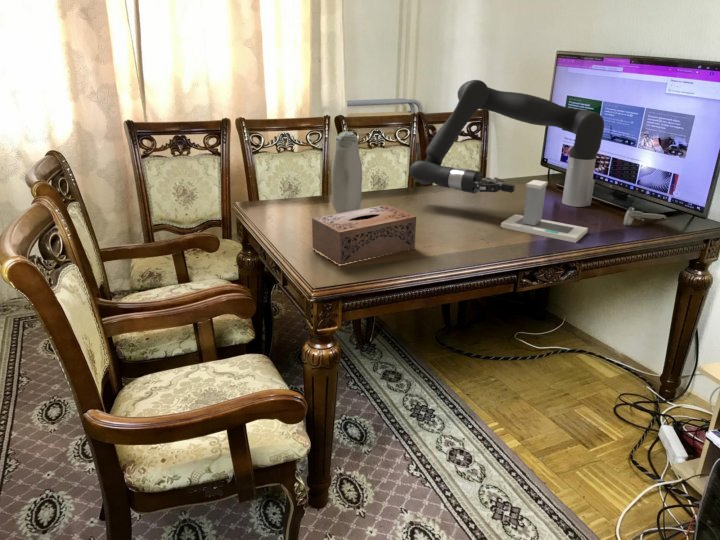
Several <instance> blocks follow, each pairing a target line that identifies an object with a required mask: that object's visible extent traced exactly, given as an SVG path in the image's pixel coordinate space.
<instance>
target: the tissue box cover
mask: <svg viewBox="0 0 720 540" xmlns="http://www.w3.org/2000/svg"><path fill="white" fill-rule="evenodd" d="M416 227H417V216H416V215H413V214H411V213H408V212H406V211H403V210H401V209H399V208H396V207H393V206H392V205H388V204H383V205H378V206H371V207H366V208H365V207H364V208H361V209H360V208H359V210H354V211H348V212H343V213H333V214H328V215H327V214H326V215H322V216H317V217H312V218H311V228H312V229H311V231H312V249H313V248H314V249H316V250H317V251H319V252H321V253H322V254H324V255H325V256H327V257H328V258H330V259H331V260H333V261H335V262H336V263H338V264H345V263H349V262H354V261H359V260H364V259H368V258H373V257H378V256H382V255H386V254H391V253H395V254H397V253H396V252H399V253H401V252H400V251H404V250H408V249H412V250H414V249H413V248H415V249H416ZM408 251H409V250H408ZM404 252H405V251H404ZM391 255H392V254H391Z"/></svg>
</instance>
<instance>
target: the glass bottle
mask: <svg viewBox="0 0 720 540" xmlns="http://www.w3.org/2000/svg"><path fill="white" fill-rule="evenodd" d="M334 144H335V145H334V153H333V158H332V163H331V169H330V170H331V171H330V174H331V175H330V177H331V179H330V180H331V204H332V207H333V209H334V211H335V212H336V214H338V213H343V212H348V211H354V210H359V209H360V207H361V204H362V188H363V187H362V186H363V184H362V183H363V168H362V167H363V166H362V160H361V156H360V155H361V154H360V148H359V138H358V137H357V135H356V133H354V132H352V131H349V130H348V131H347V130H346V131H341V132H340V133H339V134H337V136H336V139H335V143H334Z"/></svg>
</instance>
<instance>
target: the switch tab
mask: <svg viewBox="0 0 720 540" xmlns="http://www.w3.org/2000/svg"><path fill="white" fill-rule="evenodd" d="M547 185H548V181H545V180H538V179H533V180H531V181H529V182H527V183H526V193H525V201H524V202H525V203H524V210H523V215H522V216H523V224H528V225H534V226H535V225H537V224H538V223H539V222H541V220H542V217H543V211H544V203H545V197H546V189H547Z"/></svg>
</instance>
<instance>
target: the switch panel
mask: <svg viewBox="0 0 720 540" xmlns="http://www.w3.org/2000/svg"><path fill="white" fill-rule="evenodd" d="M523 216H524V215H521V214H516V213H515V214H513V215H512V216H510V217H508V218H507V219H505V220H503V221H502V222H501V223H500V228H501V227H502V229H506V230H512V231H516V232H521V233H526V234H530V235H536V236H541V237H545V238H550V239H556V240H560V241H566V242H568V243H569V242H571V243H574V244H576V243H577V242H578V241H579V240H581V239H582V238H583V237H584V236H585V235H586V234H587V233H588V229H589V227H584V226H579V225H574V224H568V223H563V222H557V221H553V220H548V219H542V220H541V222H539V223H538V224H537V225H535V226H534V225H528V224H523Z"/></svg>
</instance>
